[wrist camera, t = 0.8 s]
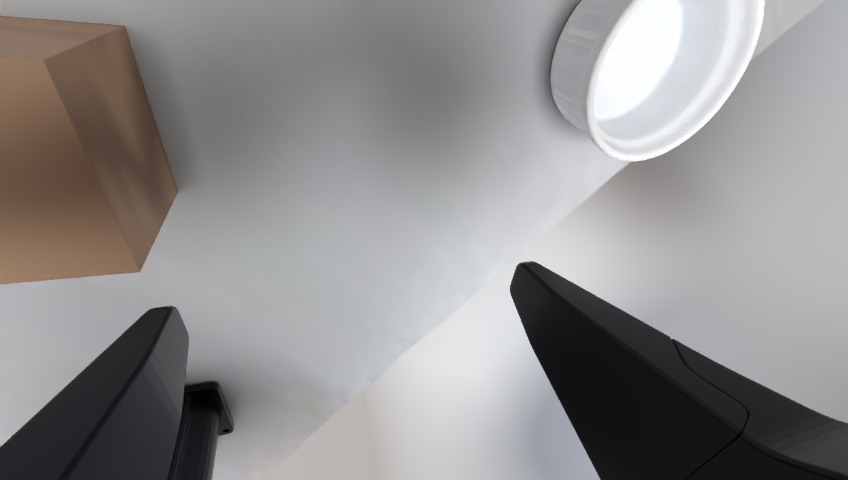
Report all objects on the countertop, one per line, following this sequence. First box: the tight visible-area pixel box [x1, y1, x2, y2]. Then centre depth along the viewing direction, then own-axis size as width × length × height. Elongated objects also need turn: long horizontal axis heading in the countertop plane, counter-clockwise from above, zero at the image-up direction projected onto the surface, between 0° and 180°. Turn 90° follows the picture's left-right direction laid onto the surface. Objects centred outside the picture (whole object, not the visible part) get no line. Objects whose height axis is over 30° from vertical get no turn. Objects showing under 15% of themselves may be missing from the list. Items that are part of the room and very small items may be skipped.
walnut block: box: [0, 16, 177, 284], centre depth 12 cm, size 7×7×6 cm
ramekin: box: [551, 0, 765, 161], centre depth 18 cm, size 9×9×4 cm
